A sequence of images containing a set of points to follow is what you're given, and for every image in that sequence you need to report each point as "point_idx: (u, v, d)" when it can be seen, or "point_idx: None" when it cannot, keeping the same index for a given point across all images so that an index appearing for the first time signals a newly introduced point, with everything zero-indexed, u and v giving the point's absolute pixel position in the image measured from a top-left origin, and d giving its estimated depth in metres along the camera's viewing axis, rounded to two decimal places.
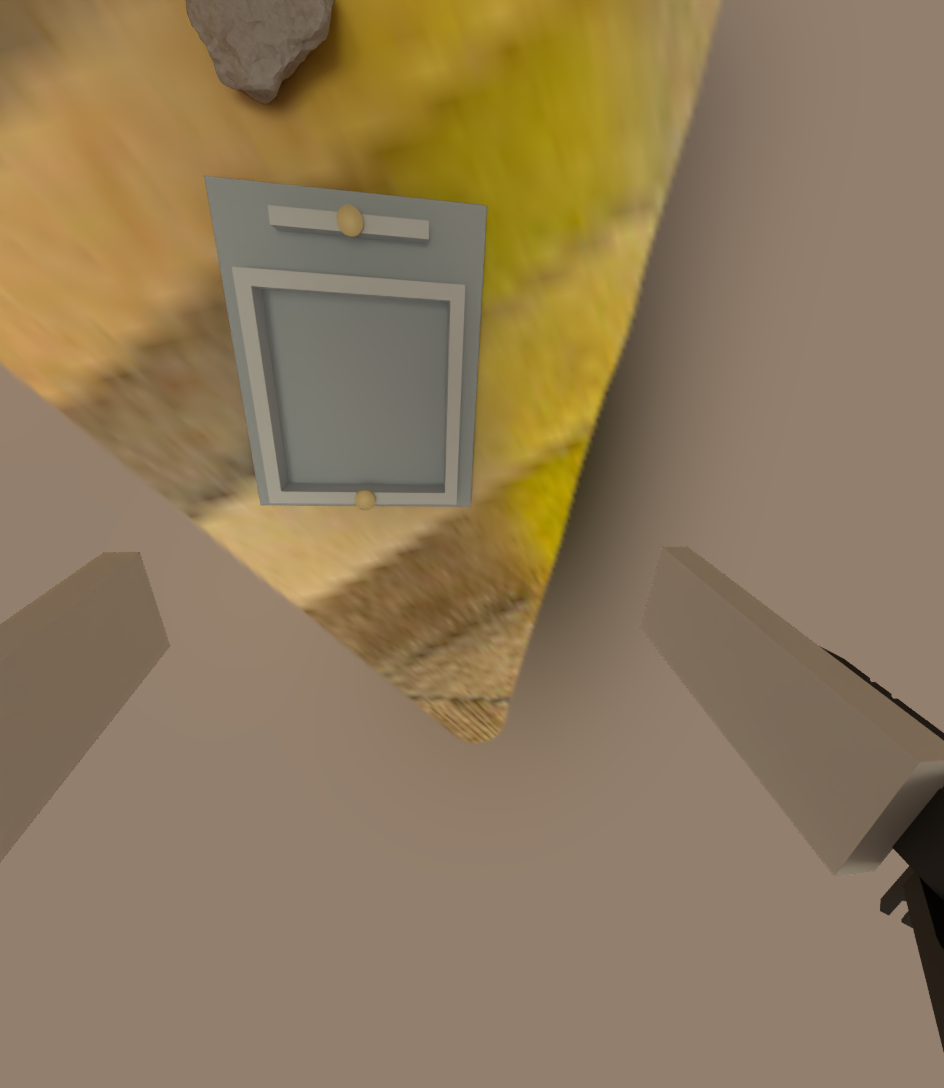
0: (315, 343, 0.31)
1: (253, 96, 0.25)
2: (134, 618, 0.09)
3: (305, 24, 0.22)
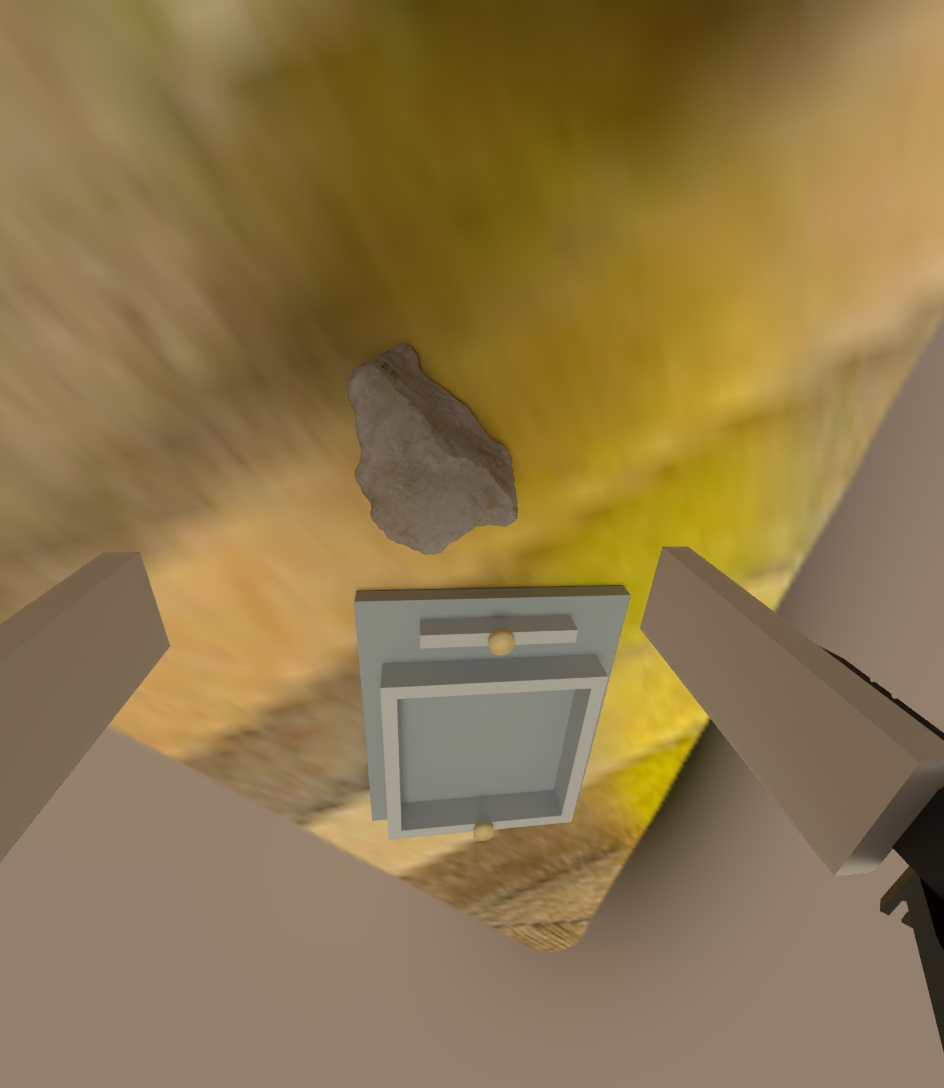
0: (444, 705, 0.31)
1: None
2: (134, 618, 0.09)
3: (491, 521, 0.22)
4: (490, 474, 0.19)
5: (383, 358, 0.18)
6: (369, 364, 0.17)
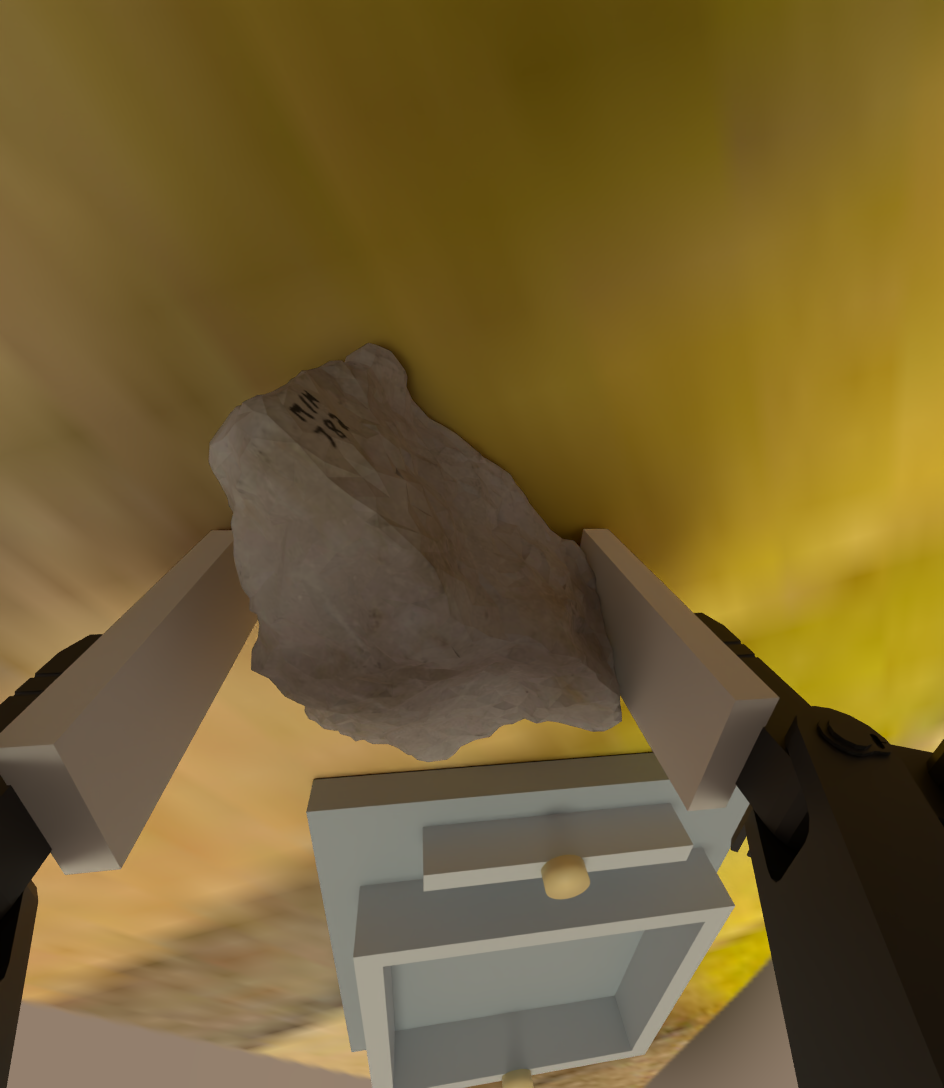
0: None
1: None
2: (239, 588, 0.11)
3: (562, 719, 0.10)
4: None
5: (306, 382, 0.07)
6: (250, 404, 0.06)
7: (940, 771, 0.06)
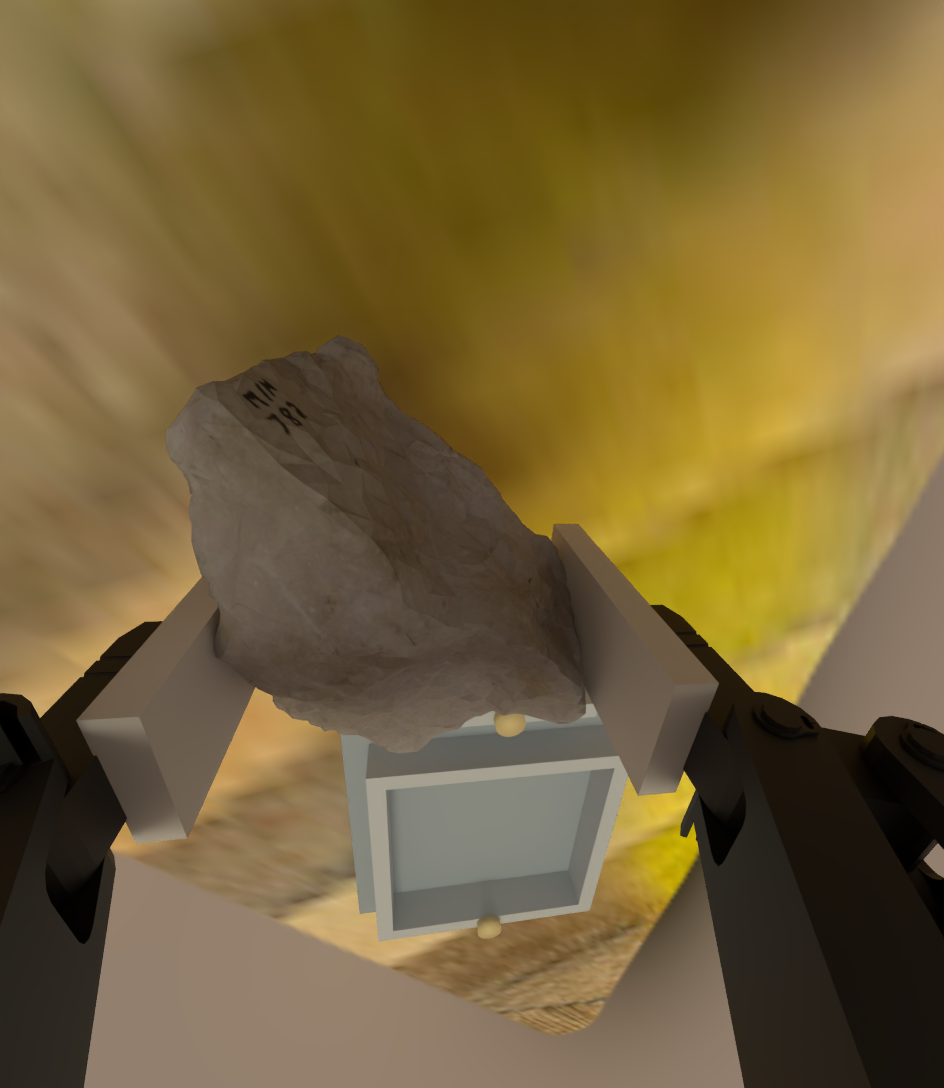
0: (442, 786, 0.26)
1: None
2: None
3: (528, 712, 0.10)
4: (539, 650, 0.08)
5: (266, 371, 0.07)
6: (202, 390, 0.06)
7: (870, 756, 0.06)
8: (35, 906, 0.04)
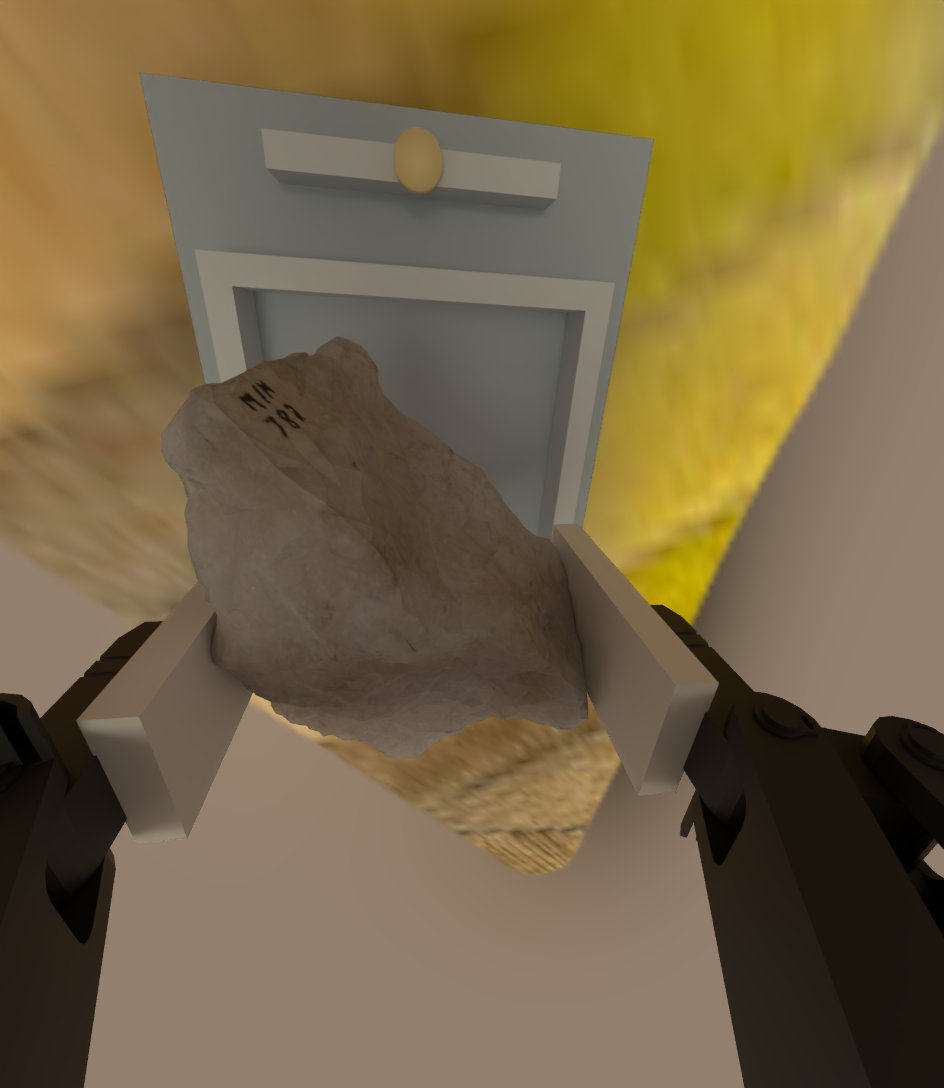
0: None
1: None
2: None
3: (530, 717, 0.10)
4: (541, 655, 0.08)
5: (263, 372, 0.07)
6: (197, 392, 0.05)
7: (870, 756, 0.06)
8: (35, 906, 0.04)
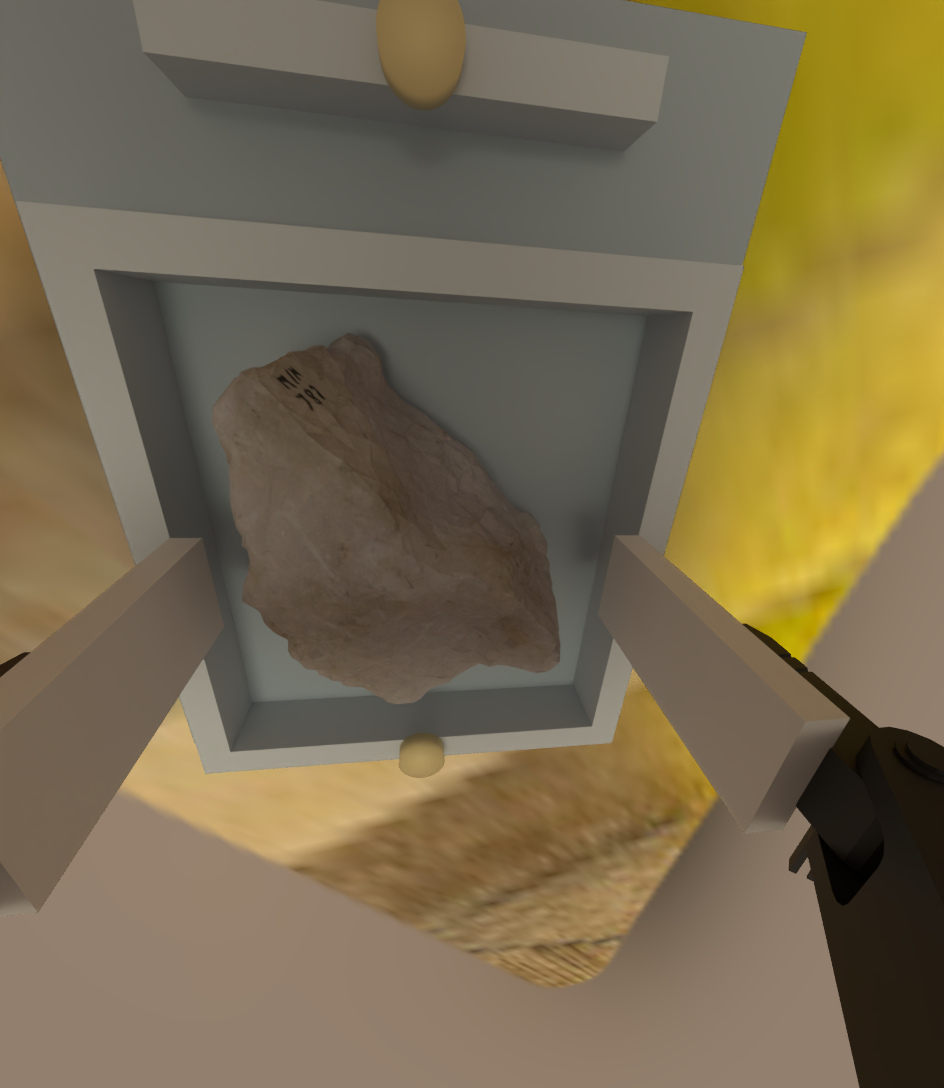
0: None
1: None
2: (198, 598, 0.10)
3: (511, 662, 0.12)
4: (517, 599, 0.10)
5: (292, 360, 0.08)
6: (245, 373, 0.07)
7: None
8: None
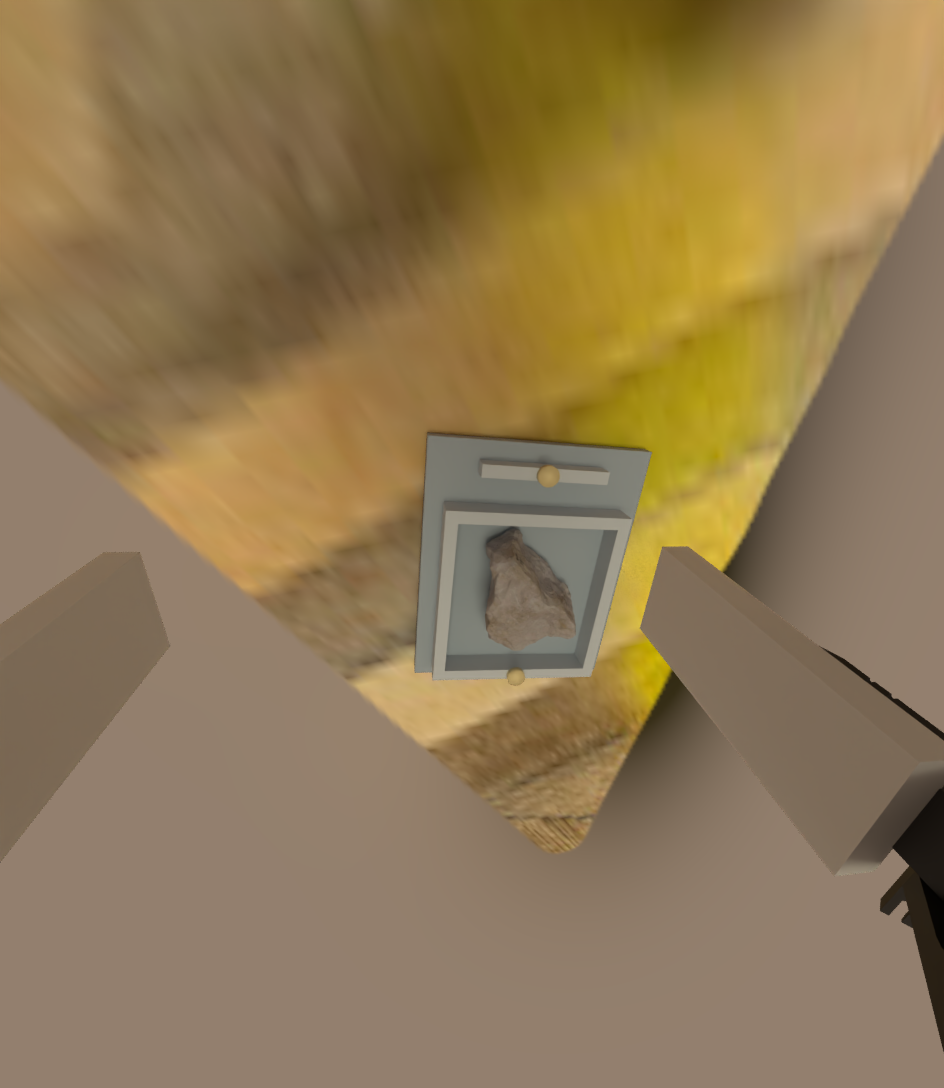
0: None
1: None
2: (134, 618, 0.09)
3: (559, 635, 0.35)
4: (566, 613, 0.33)
5: (514, 549, 0.32)
6: (510, 558, 0.31)
7: None
8: None
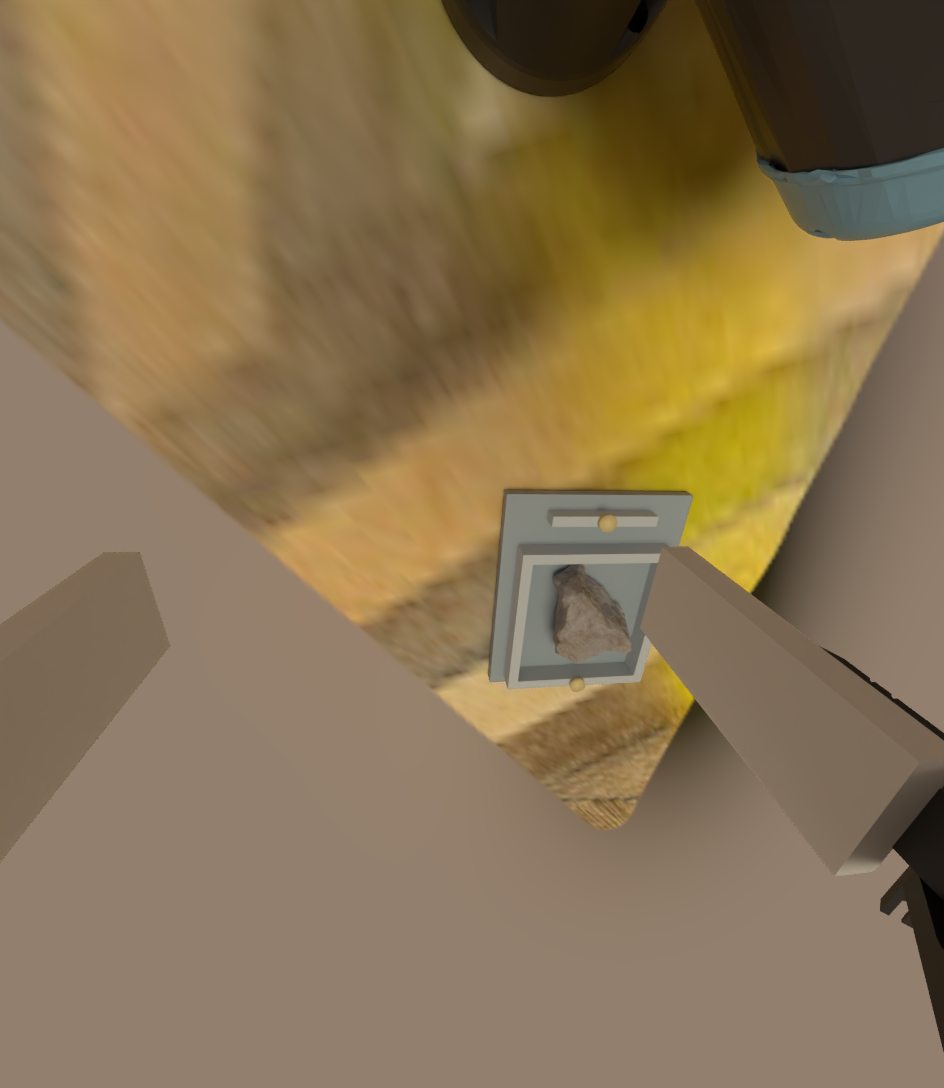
0: None
1: None
2: (134, 618, 0.09)
3: (616, 650, 0.42)
4: (624, 634, 0.40)
5: (581, 584, 0.38)
6: (580, 593, 0.37)
7: None
8: None
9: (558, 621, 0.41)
